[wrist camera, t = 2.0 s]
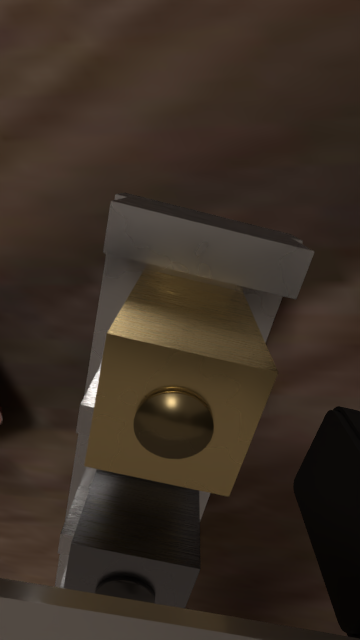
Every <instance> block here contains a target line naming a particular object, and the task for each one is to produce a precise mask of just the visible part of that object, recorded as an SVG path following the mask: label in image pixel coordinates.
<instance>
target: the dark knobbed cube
mask: <svg viewBox="0 0 360 640" xmlns="http://www.w3.org/2000/svg"><path fill="white" fill-rule="evenodd" d="M199 571H200V506H199V490H194V489H190V488H185V487H180V486H175V485H171V484H166V483H161V482H156V481H152V480H147V479H142V478H137V477H133V476H128V475H123V474H118V473H114V472H109V471H104V470H99V469H96V472H95V475H94V478H93V481H92V484H91V487H90V490H89V493H88V495H87V498H86V501H85V504H84V507H83V510H82V513H81V516H80V519H79V522H78V525H77V527H76V530H75V533H74V536H73V539H72V542H71V546H70V552H69V558H68V564H67V570H66V576H65V582H64V589H71V590H77V591H83V592H89V593H95V594H101V595H107V596H113V597H119V598H125V599H131V600H137V601H143V602H149V603H155V604H161V605H167V606H173V607H178V608H184V609H185V607H186V604H187V602H188V599H189V597H190V594H191V591H192V589H193V586H194V584H195V581H196V579H197V576H198V574H199Z"/></svg>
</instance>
